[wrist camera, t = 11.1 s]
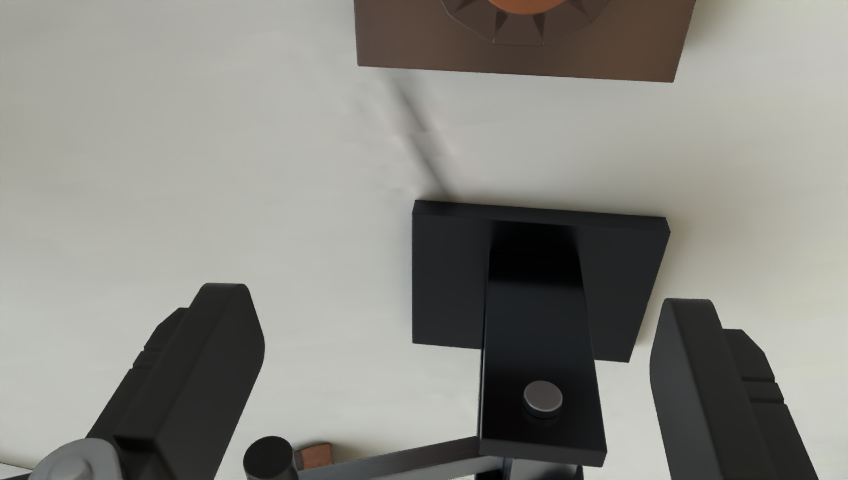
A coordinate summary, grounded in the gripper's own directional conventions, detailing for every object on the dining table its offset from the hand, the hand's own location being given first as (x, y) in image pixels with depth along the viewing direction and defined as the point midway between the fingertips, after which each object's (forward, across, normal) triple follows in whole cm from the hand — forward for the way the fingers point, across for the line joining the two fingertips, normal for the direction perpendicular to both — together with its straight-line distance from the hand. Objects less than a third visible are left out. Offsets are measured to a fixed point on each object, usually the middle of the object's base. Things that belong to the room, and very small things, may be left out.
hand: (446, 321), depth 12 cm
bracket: (+16, -2, +13) cm, 21 cm away
